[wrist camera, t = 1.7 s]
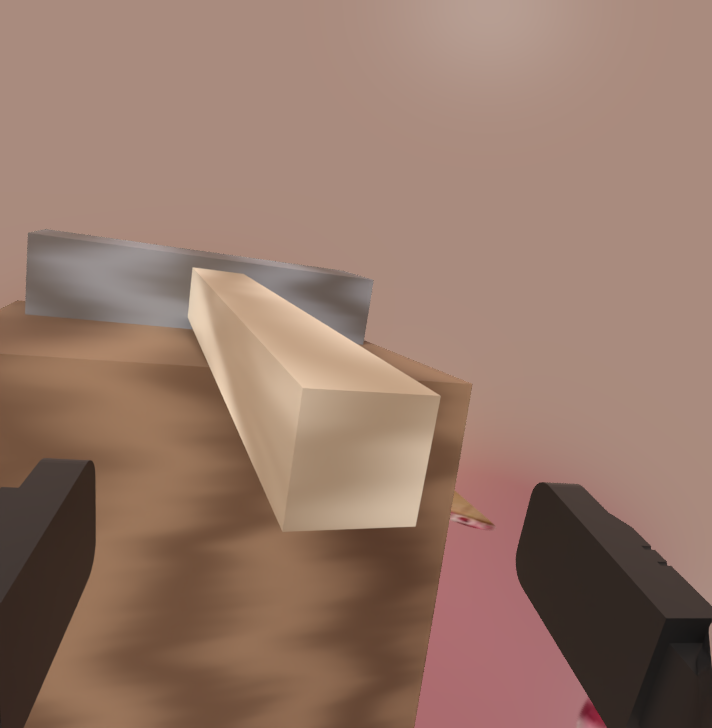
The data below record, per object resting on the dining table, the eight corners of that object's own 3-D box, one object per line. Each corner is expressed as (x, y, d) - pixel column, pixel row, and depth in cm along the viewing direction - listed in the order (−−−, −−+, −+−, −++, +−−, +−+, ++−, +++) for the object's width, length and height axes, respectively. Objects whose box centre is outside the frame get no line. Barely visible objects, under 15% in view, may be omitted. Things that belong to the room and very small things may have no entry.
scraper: (334, 327, 35) (342, 270, 35) (683, 537, 13) (728, 386, 12) (42, 298, 29) (45, 229, 29) (-287, 595, 7) (-312, 303, 6)
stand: (284, 770, 41) (342, 331, 36) (362, 1032, 27) (472, 384, 23) (-7, 831, 34) (17, 300, 29) (-97, 1223, 20) (-80, 348, 16)
